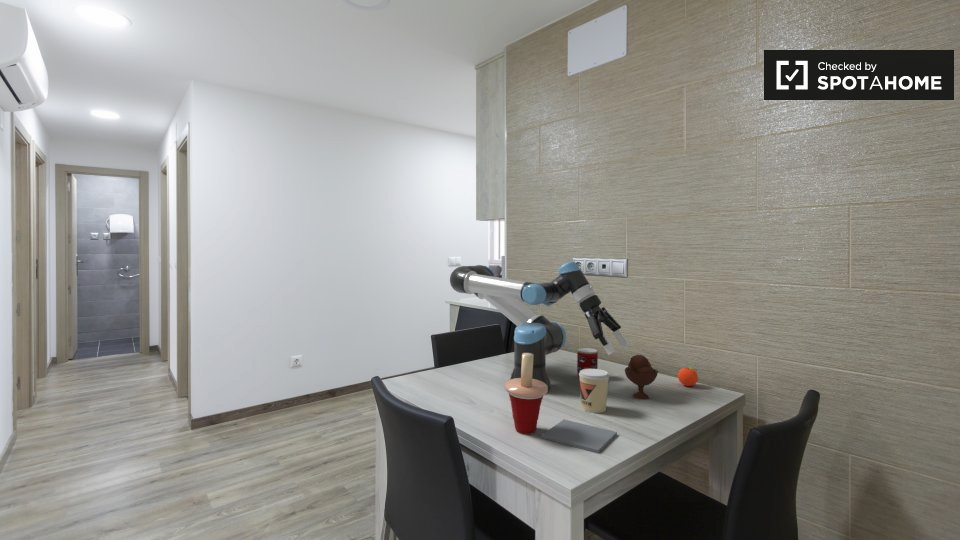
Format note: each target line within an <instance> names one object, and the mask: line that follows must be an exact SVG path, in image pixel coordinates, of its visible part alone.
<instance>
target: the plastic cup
mask: <svg viewBox="0 0 960 540" xmlns="http://www.w3.org/2000/svg"><path fill="white" fill-rule="evenodd" d="M507 393H508V396H509V400H510V407H511V411H512V412H511V413H512V418H513V423H514V429H515V432H517V433H519V434H522V435H530V434H531V435H532V434H534V433H535V432H536V431H537V427H538V420H539V416H540V412H541V411H540V410H541V404H542V402H543V398H544V396H545V395H542V396H539V397H521V396H516V395H513V394H511V393H509V392H507Z"/></svg>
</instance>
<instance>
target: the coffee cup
mask: <svg viewBox="0 0 960 540" xmlns="http://www.w3.org/2000/svg"><path fill="white" fill-rule="evenodd" d="M579 376H580V378H579V391H580V392H579V393H580V405H581V409H583V411H585V412H586V411H587V412H588V413H590V414H591V413H593V414H601V413H602V414H603V413H604V412H606V410H607V402H608V391H609V378H610V374H609V372H608V371H606V370H604V369H599V368H597V369H583V370H581V371H580V373H579Z"/></svg>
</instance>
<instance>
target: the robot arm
mask: <svg viewBox="0 0 960 540" xmlns="http://www.w3.org/2000/svg"><path fill="white" fill-rule="evenodd" d="M557 272H558V274H559V275H558V276H557V277H556V278H554V279H553V280H552V281H550V282H542V283H537V282H536V283H535V282H529V281H524V280H523V281H522V280H517V279H516V280H515V279H511V278H504V277H497V276H495V273H494V271H493V270H492V269H491V268H490V267H488V266H487V265H481V264H477V265H461V266H458V267H456V268H454V269H453V271H452V272H451V273H450V276H449V283H450V287H451V289H453V290H454V291H455V292H457V293H459V294H467V295H472V294H473V295H475V296H476V297H477V298H478V299H480V300H486V301H487V302H488V303H489V304H490V305H492V306H493V308H495V309H496V310H497V311H499V312H500V313H501V314H502V315H504V316H505V317H506V318H507V319H508V320H509V321H511V322H512V323H513V324H514V325H515V326H516V327H515V328H514V336H513V340H514V341H513V342H514V343H513V345H514V347H513V351H514V352H513V353H514V356H513V357H514V363H513V370H512V373H511V376H510V379H509V380H511V379H515V378H521V367H522V354H523V353H531V354H533V376H532V379H536V380H539V381H542V382H544V383H545V384H546V385H547V386H548V391H549V390H550V389H551V380H550V377H549V374H548V371H547V368H546V364H547V363H546V359H547V358H546V356H547V355H549V354H553V353H557V352H558V351H559V350H561V349H562V348H563V347H564V346H565V344H566V341H567V332H566V330H565V328H564V326H563V325H562V324H561V323H559V322H557V321H550V320H549V319H548V318H546V317H545V316H544V315H543V314H539V315H537V314H536V313H535V312H533V311H532V310H531V309H530V308H528V307H527V306H526V305H525V304H523V303H522V302H525V303H526V304H527V305H530V306H538V305H541V304H543V305H545V306H547V307H550V306H552V305H554V304H556V303H558V301H559V300H561V299H563V298H564V297H565V296H566V295H568V294H569V293H571V294H572V296H573V298H574V299H575V301H576V302H577V304H579V305H578V306H579V307H580V309H581V310H582V312H583V313H584V316H585V319H586V320H587V323H588V326H589V329H590V332H591V334H592V338H594V339H595V340H597V339H598V340H599V342H600V344H601V345H602V347H603V349H604V350H605V352H606V354H607V356H610V355H612V354H613V353H615V352H616V350H615V348H614V347H613V345H612V343H611V342H610V340H609V339H608V336H607V335H606V334H604V330H603V326H602V324H604V325H605V326H606V327H607V328H608V329H609V330H610V331H612V334H613V336H614V338H615V339H616V340H617V342H618V344H619V346H620V347H621V348H622V349H623V348H625V347H627V346H629V345H630V343H629V342H628V341H627V339H626V337H625V336H624V335H623V333H622V331H621V330H620V329H621V328H622V326H621V324H619V323H618V322H617V320H616V319H614V318H615V317H613V316H612V315H611V314H610V313H609V312H608V310H607V309H606V308H605V306H603V307H600V305H601V304H602V301H601V299H600V298H599V296H598V295H597V294H596V292H595V290H594V286H592V285H591V284H590V282H589V281H588V279H587V277H586V276H585V274H584V273H583V271H582V269H581V268H580V267H579V266H578V264H577V263H576V262H575V261H568V262H566V263H564V264H562V265H561V266H559V268H558V270H557Z"/></svg>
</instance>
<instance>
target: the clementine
mask: <svg viewBox="0 0 960 540" xmlns="http://www.w3.org/2000/svg"><path fill="white" fill-rule="evenodd" d="M677 378H678V381H679V382H680V384H682V385H683V386H685V387H693V386H695V385H696V384H697V383H698V380H699V375H698V370H697V369H696V368H694V367H690V366H689V367H683V368H681V369H680V370H679V372H678V374H677Z"/></svg>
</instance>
